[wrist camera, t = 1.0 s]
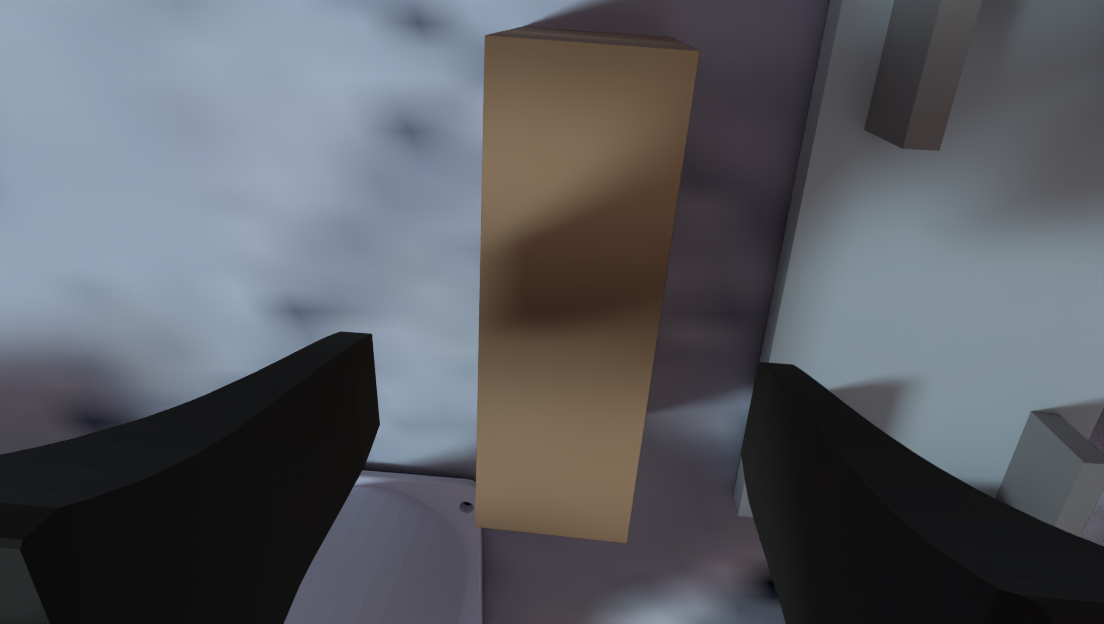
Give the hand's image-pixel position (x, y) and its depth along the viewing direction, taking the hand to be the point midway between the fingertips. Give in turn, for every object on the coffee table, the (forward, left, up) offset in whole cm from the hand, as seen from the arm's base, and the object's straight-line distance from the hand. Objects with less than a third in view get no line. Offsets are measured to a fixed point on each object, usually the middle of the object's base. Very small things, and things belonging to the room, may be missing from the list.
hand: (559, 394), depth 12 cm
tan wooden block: (0, 0, -9) cm, 9 cm away
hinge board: (0, -11, -8) cm, 14 cm away
